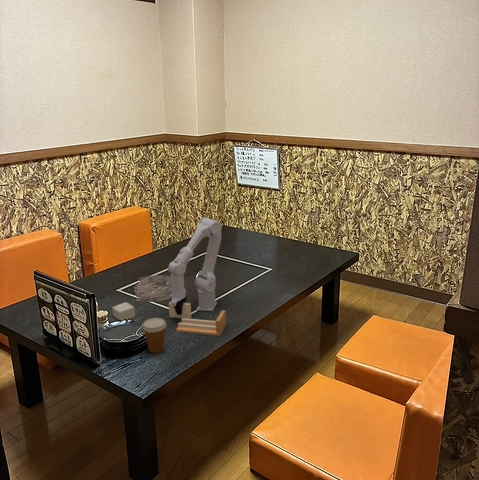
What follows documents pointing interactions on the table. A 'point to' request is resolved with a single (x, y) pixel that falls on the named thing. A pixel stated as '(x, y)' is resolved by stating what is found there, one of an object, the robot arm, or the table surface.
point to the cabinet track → (203, 325)
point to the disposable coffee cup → (155, 334)
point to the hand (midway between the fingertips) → (180, 313)
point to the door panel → (185, 311)
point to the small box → (123, 311)
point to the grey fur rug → (153, 288)
